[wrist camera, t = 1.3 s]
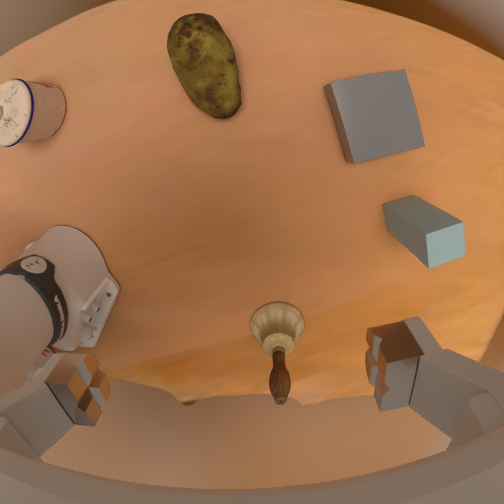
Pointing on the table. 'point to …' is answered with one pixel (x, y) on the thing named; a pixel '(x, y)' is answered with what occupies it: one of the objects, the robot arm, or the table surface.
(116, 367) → the table surface
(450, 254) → the teal block
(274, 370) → the hand bell
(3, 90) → the teacup with lid
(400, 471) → the robot arm
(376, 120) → the slate slab
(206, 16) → the potato
